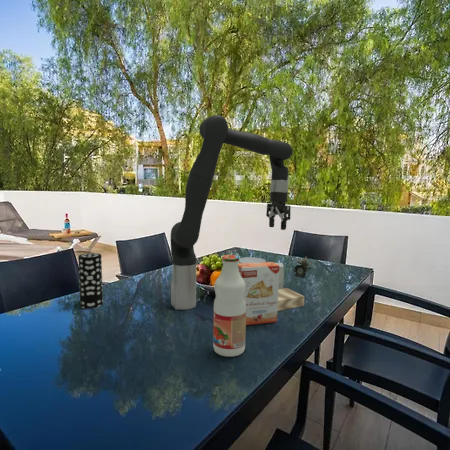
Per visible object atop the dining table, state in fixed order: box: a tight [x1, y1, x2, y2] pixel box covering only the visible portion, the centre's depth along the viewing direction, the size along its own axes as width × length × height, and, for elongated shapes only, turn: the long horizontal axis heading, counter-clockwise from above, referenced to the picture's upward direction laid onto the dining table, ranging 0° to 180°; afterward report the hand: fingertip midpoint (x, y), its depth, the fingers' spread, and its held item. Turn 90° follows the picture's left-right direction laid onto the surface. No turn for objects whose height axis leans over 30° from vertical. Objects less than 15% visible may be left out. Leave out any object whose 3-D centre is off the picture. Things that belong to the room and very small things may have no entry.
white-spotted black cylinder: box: [77, 252, 104, 310], centre depth 133 cm, size 8×8×20 cm
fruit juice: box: [212, 254, 247, 357], centre depth 98 cm, size 9×9×28 cm
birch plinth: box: [277, 287, 305, 312], centre depth 137 cm, size 17×12×4 cm
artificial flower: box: [293, 256, 313, 278], centre depth 188 cm, size 9×22×10 cm, turn 154°
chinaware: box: [239, 256, 267, 263], centre depth 181 cm, size 15×15×8 cm
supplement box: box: [275, 262, 285, 289], centre depth 153 cm, size 7×7×13 cm
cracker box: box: [238, 261, 279, 326], centre depth 119 cm, size 14×6×21 cm, turn 105°
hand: (277, 228), depth 147 cm, fingers open, 8 cm apart
